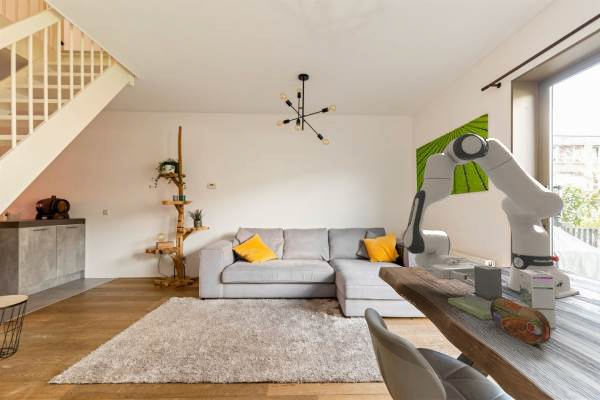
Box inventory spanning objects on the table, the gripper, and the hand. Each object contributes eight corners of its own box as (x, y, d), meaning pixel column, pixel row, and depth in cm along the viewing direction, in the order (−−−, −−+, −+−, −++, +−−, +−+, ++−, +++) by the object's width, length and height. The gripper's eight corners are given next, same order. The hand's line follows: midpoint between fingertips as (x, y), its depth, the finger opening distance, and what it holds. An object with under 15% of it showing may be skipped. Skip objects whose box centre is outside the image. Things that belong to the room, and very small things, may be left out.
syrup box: (557, 328, 72) (555, 274, 72) (532, 326, 73) (530, 273, 74) (542, 319, 78) (541, 269, 78) (519, 318, 79) (518, 268, 79)
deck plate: (488, 299, 95) (487, 286, 95) (528, 315, 81) (527, 300, 81) (448, 302, 92) (448, 289, 92) (483, 319, 78) (482, 304, 78)
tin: (489, 323, 76) (488, 293, 76) (499, 322, 76) (499, 293, 76) (541, 352, 61) (540, 314, 61) (554, 351, 61) (553, 314, 61)
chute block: (488, 301, 88) (487, 265, 89) (502, 307, 83) (501, 268, 84) (475, 302, 87) (474, 266, 88) (488, 308, 82) (487, 269, 83)
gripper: (423, 260, 101) (449, 268, 88) (469, 258, 105) (502, 265, 91) (423, 276, 101) (450, 287, 87) (469, 274, 105) (502, 284, 91)
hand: (477, 276), depth 89 cm, fingers open, 8 cm apart
